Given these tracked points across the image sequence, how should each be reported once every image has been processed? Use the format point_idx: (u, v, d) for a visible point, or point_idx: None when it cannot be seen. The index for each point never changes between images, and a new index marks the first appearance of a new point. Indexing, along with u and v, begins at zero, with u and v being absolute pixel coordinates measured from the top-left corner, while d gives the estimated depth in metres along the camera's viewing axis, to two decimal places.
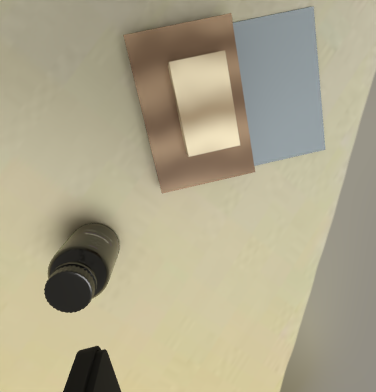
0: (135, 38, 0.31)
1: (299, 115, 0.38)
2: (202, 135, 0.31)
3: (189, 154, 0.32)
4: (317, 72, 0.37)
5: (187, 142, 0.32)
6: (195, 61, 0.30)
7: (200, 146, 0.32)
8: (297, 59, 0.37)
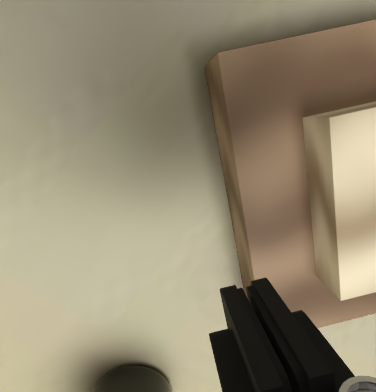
0: (242, 59, 0.14)
1: None
2: (373, 261, 0.15)
3: (342, 296, 0.16)
4: None
5: (342, 275, 0.15)
6: None
7: (366, 280, 0.16)
8: None
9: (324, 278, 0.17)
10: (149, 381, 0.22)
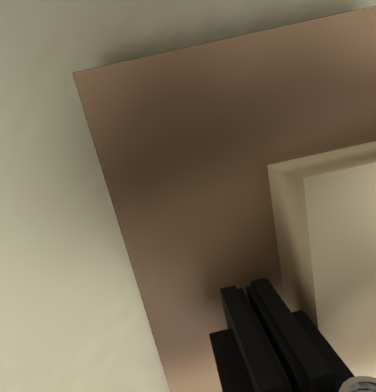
0: (117, 84, 0.09)
1: None
2: None
3: None
4: None
5: None
6: None
7: None
8: None
9: None
10: None
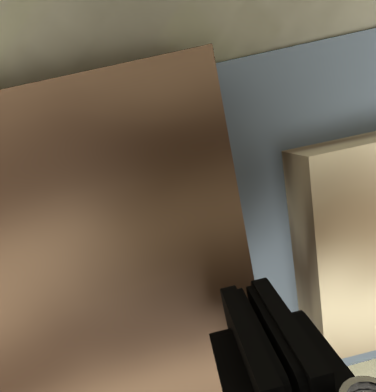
0: None
1: None
2: None
3: None
4: None
5: None
6: None
7: None
8: None
9: None
10: None
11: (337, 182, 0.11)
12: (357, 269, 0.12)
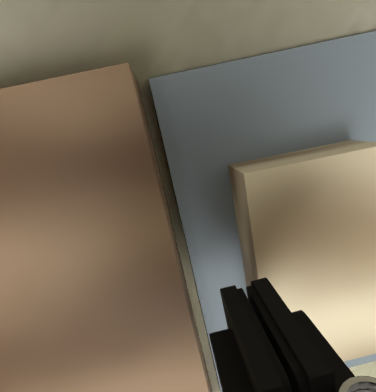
0: None
1: None
2: None
3: None
4: None
5: None
6: None
7: None
8: None
9: None
10: None
11: (274, 199, 0.11)
12: (300, 286, 0.12)
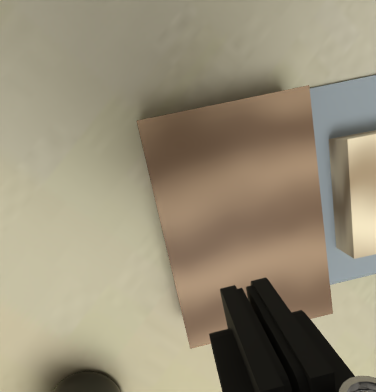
0: (155, 125, 0.19)
1: None
2: None
3: None
4: None
5: None
6: None
7: None
8: None
9: None
10: (99, 385, 0.25)
11: (361, 153, 0.22)
12: (372, 202, 0.23)
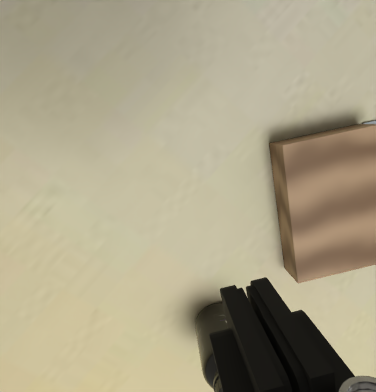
0: (292, 148, 0.32)
1: None
2: None
3: None
4: None
5: None
6: None
7: None
8: None
9: None
10: None
11: None
12: None
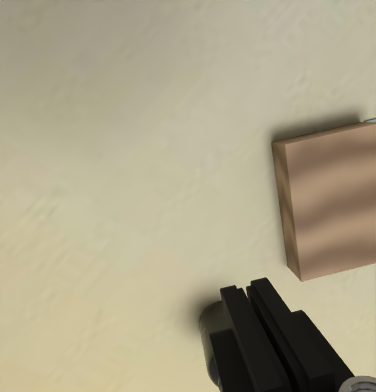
0: (295, 147, 0.32)
1: None
2: None
3: None
4: None
5: None
6: None
7: None
8: None
9: None
10: None
11: None
12: None
